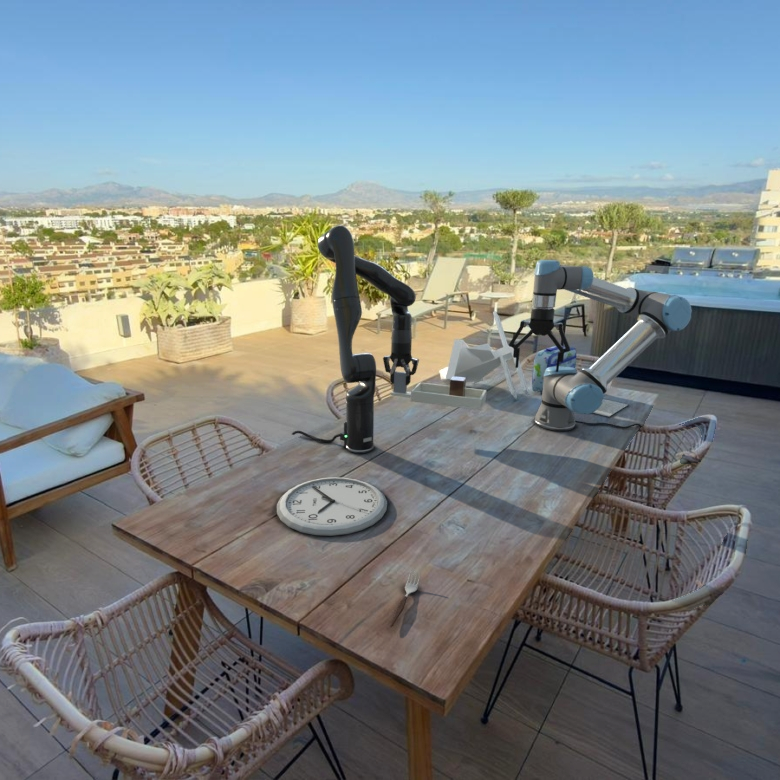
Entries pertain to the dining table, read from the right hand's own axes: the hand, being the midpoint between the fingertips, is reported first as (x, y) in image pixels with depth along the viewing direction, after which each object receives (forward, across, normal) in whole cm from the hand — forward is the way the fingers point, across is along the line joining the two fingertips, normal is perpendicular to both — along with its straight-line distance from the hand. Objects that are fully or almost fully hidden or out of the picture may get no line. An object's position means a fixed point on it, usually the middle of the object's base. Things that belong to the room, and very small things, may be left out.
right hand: (536, 368), depth 181 cm
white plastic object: (+27, +27, -50) cm, 63 cm away
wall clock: (+27, +47, +67) cm, 86 cm away
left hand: (+11, +50, 0) cm, 51 cm away
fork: (+27, +17, +98) cm, 103 cm away
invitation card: (+27, -26, -50) cm, 62 cm away
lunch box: (+27, -5, -67) cm, 72 cm away
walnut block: (+14, +27, 0) cm, 31 cm away
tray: (+15, +35, 0) cm, 38 cm away
